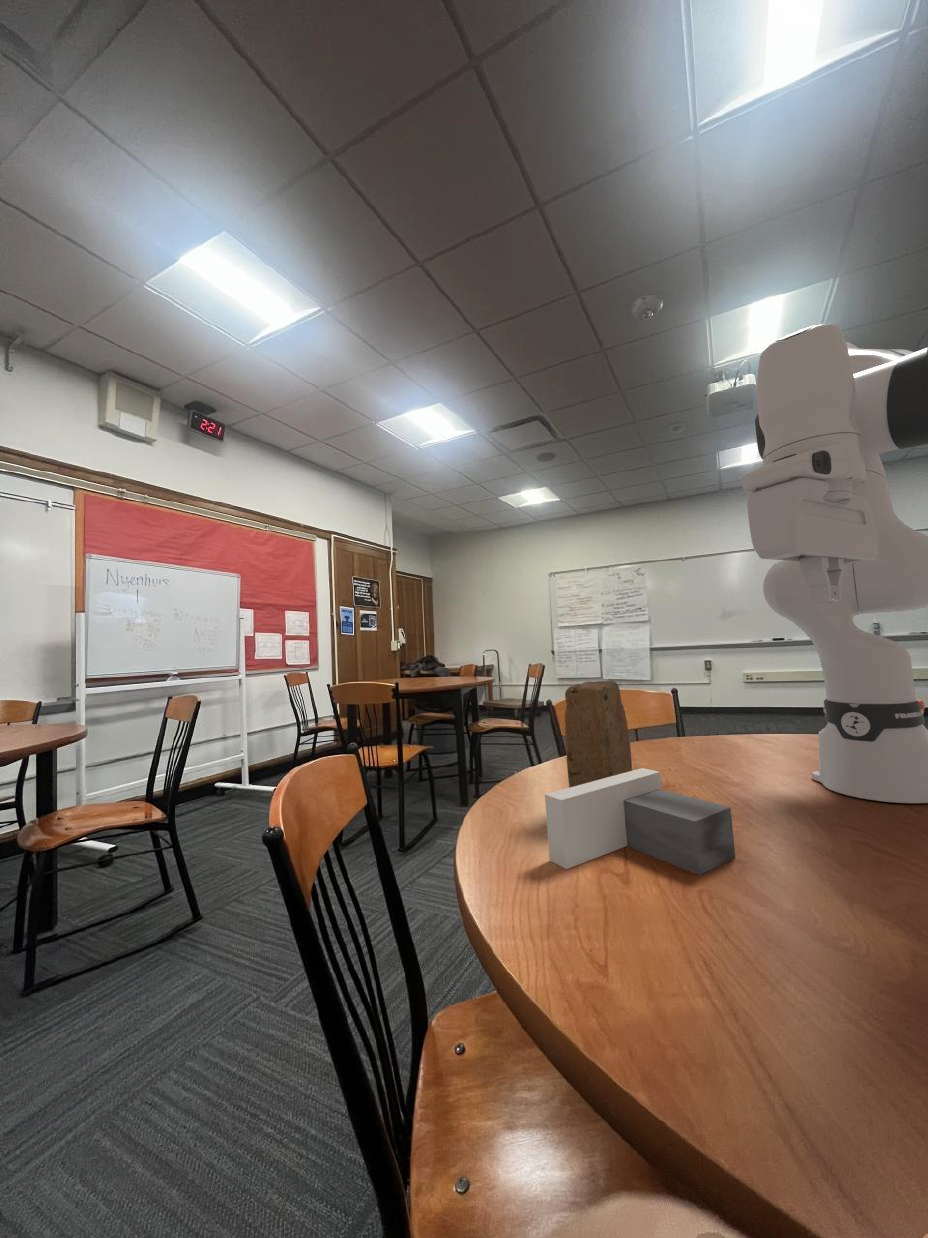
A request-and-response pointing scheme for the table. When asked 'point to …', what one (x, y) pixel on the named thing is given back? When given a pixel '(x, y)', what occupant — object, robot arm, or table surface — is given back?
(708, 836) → the charcoal block
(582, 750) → the block
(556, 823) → the cream board
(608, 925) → the table surface
